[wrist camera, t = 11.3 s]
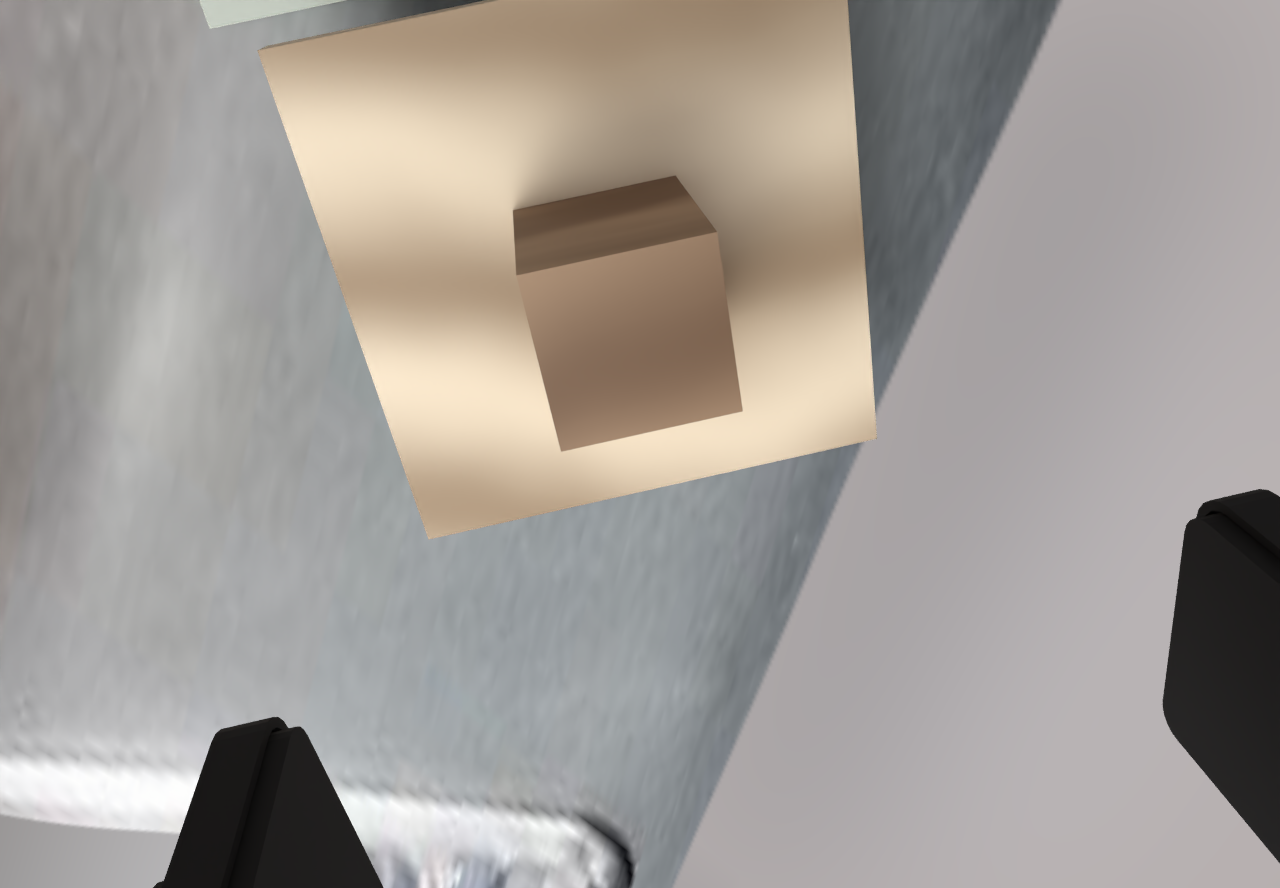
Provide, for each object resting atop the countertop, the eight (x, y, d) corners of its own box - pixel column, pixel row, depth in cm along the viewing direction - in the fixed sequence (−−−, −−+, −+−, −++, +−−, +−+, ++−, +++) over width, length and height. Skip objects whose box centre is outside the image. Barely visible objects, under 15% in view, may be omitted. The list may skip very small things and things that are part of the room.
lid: (267, 45, 21) (193, 81, 16) (828, -72, 22) (933, -73, 17) (430, 520, 28) (415, 656, 23) (864, 422, 28) (949, 535, 23)
